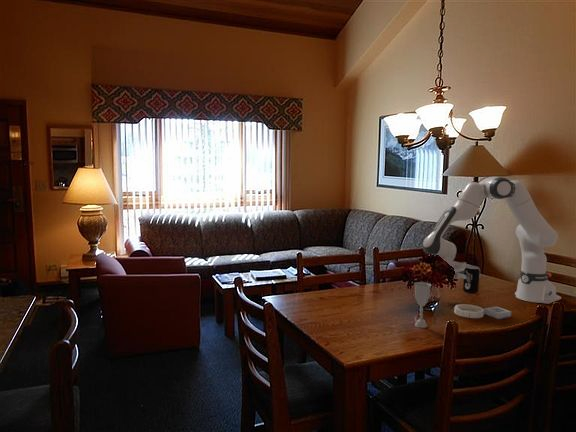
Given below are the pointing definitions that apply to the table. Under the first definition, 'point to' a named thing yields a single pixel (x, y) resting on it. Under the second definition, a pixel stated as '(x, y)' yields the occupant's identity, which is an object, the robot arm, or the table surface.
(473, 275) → the beverage can
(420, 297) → the chalice
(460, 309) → the round collar
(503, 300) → the table surface
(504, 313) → the square holder
